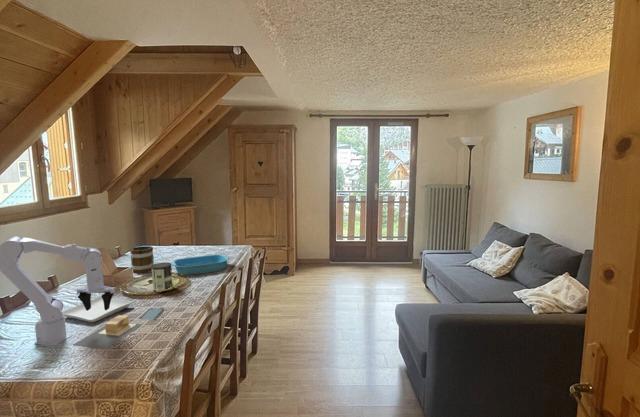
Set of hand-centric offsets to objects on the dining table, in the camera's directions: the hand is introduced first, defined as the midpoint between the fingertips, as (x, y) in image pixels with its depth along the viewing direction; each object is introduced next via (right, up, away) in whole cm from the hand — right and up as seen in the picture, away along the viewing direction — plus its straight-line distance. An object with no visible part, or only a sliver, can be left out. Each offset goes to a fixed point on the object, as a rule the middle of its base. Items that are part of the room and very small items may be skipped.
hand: (97, 309), depth 142 cm
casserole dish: (+14, +1, +84) cm, 85 cm away
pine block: (+7, -9, +2) cm, 11 cm away
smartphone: (+15, -8, +15) cm, 22 cm away
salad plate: (-12, -8, +19) cm, 24 cm away
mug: (-25, +1, +85) cm, 89 cm away
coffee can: (+5, -3, +49) cm, 49 cm away
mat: (+6, -10, -2) cm, 12 cm away
